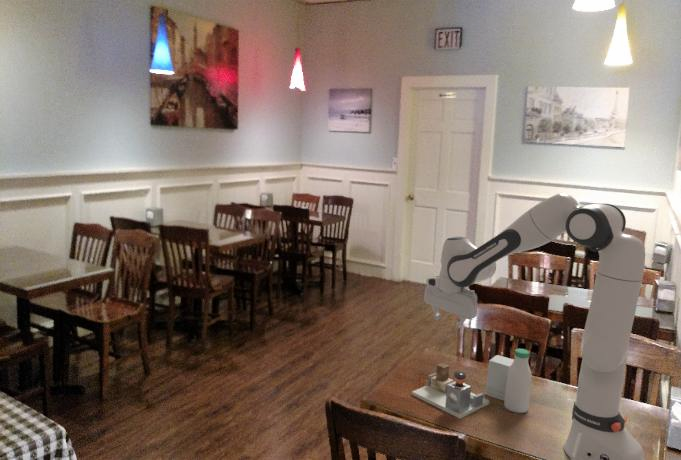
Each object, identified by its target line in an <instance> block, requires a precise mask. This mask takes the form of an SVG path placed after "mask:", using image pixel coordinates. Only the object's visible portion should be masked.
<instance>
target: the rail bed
mask: <svg viewBox="0 0 681 460" xmlns="http://www.w3.org/2000/svg"><path fill="white" fill-rule="evenodd" d="M434 376H436V372H434V373H431V374H428V376H427V384H426V385H425V386H422V387H420V388H417V389H414V390H413V391H411V392H412V393H411V395H412V396H414V397H416V398H418V399H419V400H422V401H424V402H425V403H428V404H429V405H432V406H433V407H436V408H438V409H439V410H442V411H444V412H445V413H448V414H449V415H451V416H454V417H456V418H457V419H460V420H461V419H463V418H465V417H466V416H469V415H471V414H472V413H474V412H476V411H478V410H480V409H482V408H484V407H487V406H488V405H489V404H490V400H489V399H487V398H485V397H484V393H482V392H480V393H477V394H475V393H474V392H471V394H470V405H469V409H468V410H466V411H464V412H462V413H460V414H458V413H456V412H454V411H452V410H450V409H448V408H446V407H445V405H446V393H447V386H446V392H445V393H444V392H442V391H440V390H438V389H436V388H434V387H432V386H431V381H430V379H431V377H434Z"/></svg>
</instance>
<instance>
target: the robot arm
mask: <svg viewBox="0 0 681 460" xmlns="http://www.w3.org/2000/svg"><path fill="white" fill-rule="evenodd" d="M626 223H627V220H626V216H625V214H624V212H623V211H622V210H621V209H620V208H619V207H618V206H615V205H613V204H611V203H590V204H586V205H581V204H579V203H578V201H577V200H576V199H575V198H574V197H573V196H572V195H570V194H568V193H561V192H560V193H557V194H554V195H552V196H550V197H548V198H546V199H544V200H542V201H540V202H539V203H537V204H536V205H534V206H532V207H531V208H530V209H528V210H527V211H526V212H524V213H523V214H522V215H520V216H519V217H518V218H516V220H514V221H513V222H512V223H511V224H509V225H508V226H507V227H506V228H504V229H503V230H502V231H501V232H499V233H498V234H497V235H495V236H494V237H493V238H491V239H489V240H488V241H487V242H485V243H483V244H481V245H480V246H479V247H477V246H476V245H474V244H473V243H472V242H471V240H470V239H469V237H465V236H456V237H455V236H453V237H449V238H447V239H445V240H444V243H443V245H442V251H441V255H440V256H441V257H440V265H441V268H440V271H439V275H436V276H433V277H432V276H431V277H428V278H426V286H425V287H424V294H423V301H424V303H425V304H427V305H429V306H432V307H431V310H432V312H433V318H434V319H435V320H437V321H439V320H441V316H442V314H441V313H440V312H439V309H440V310H442V311H443V310H444V311H446V312H448V313H451V314H454V315H457V316H458V318H459V321H457V322H456V323H455V327H456V328H457V329H462V328H463V327H464V323H465V321H467V320H472V319H475V318H476V317H477V315H478V295H477V293H475V290H471V289H468V288H467V287H470V286H472V285H474V284H477V283H479V282H480V283H481V282H482V281H486V280H488V279H491V278H492V277H493V276H494V275H495V273H496V271H497V262H498V261H499V260H501V259H503V258H506V257H507V256H510V255H513V254H514V255H515V254H517V253H522V252H526V251H530V250H533V249H536V248H540V247H541V246H542V247H543V246H544V245H546V244H548V243H551V242H552V241H554V240H555V239H556V238H559V237H560V236H561V235H563V234H565V233H566V234H567V235H568V237H569V238H570V239H571V240H573V241H574V242H575V243H577V244H579V245H581V246H583V247H585V248H587V249H588V250H590V251H592V252H598V256H599V258H598V265H597V270H596V274H595V279H594V285H593V289H592V295H591V300H590V304H589V309H588V312H587V316H586V321H585V324H584V330H583V333H582V334H583V335H582V339H581V342H580V352H581V356H582V360H581V365H580V370H579V375H578V381H577V389H576V390H577V391H576V395H575V396H576V399H575V401H574V402H573V407H572V413H571V414H572V415H571V420H572V421H571V426H570V430H569V433H568V436H567V439H566V440H565V442H564V444H563V449H564V450H563V451H564V452H565V453H566V454H567V456H568V457H569V458H570V460H645V455H644V449H643V447H642V445H641V444H640V443H639V442H638V441H637V440H636V439H635V438H634V437H633V435H631V433H630V432H629V431H628V430H627V429H626V428H625V425H626V423H627V420H628V417H627V416H625V417H623V416H622V415H621V413H620V405H621V399H622V398H621V397H622V391H623V385H624V384H623V383H624V378H625V373H626V371H625V370H626V366H627V359H628V354H629V353H628V352H629V346H630V339H631V335H632V329H633V324H634V322H635V321H634V320H635V315H636V311H637V307H638V302H639V297H640V293H641V289H642V283H643V278H644V272H645V266H646V265H645V264H646V247H645V244H644V242H643V241H642V240H641V239H640V238H638V236H637V237H636V236H635V235H631V234H628V233H627V234H626V233H625V232H624V231H625V229H626Z"/></svg>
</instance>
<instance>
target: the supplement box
mask: <svg viewBox="0 0 681 460" xmlns="http://www.w3.org/2000/svg"><path fill="white" fill-rule="evenodd" d="M514 359H515V358H509V357H506V356H502V355H498V354H496V355H494V356H493V357H491V358H490V359H489V360H488V364H487V365H488V366H487V376H486V387H485V395H486V396H488V397H492V398H495V399H497V400H501V401H503V402H504V400H505V391H506V382H507V374H508V370H509V368H510V366H511V365H512V363H513V361H514Z"/></svg>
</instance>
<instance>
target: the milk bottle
mask: <svg viewBox="0 0 681 460" xmlns="http://www.w3.org/2000/svg"><path fill="white" fill-rule="evenodd" d="M530 354H531V353H530V351H529V350H528V349H525V348H516V349H515V350H514V355H513V356H514V358H513V359H514V361H513V363H512V365H511V366H510V368H509V370H508V374H507V382H506V391H505V400H504V401H503V402H504V404H503V405H504V408H505V409H506V410H508V411H510V412H512V413H516V414H524V413H527V412H528V411H529V408H530V407H529V406H530V398H531V390H532V379H533V376H532V371H531V367H530V365H529V359H530Z"/></svg>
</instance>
